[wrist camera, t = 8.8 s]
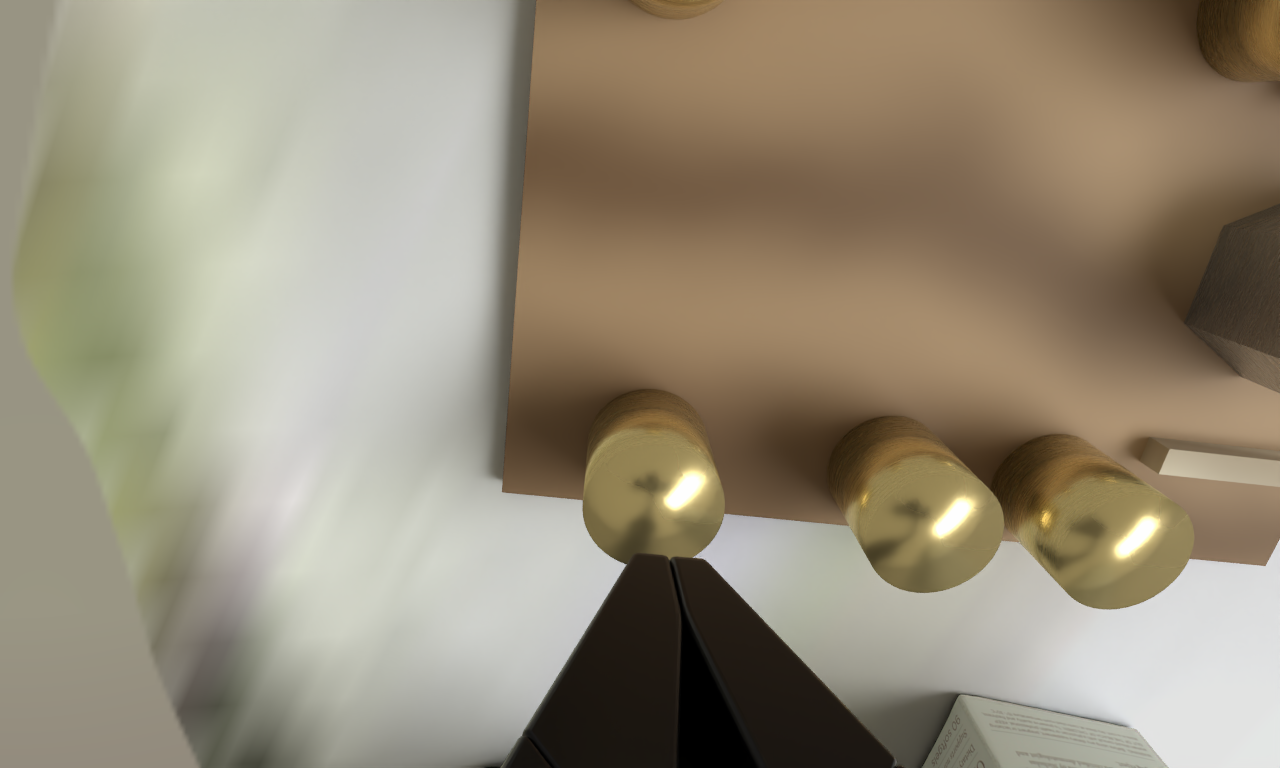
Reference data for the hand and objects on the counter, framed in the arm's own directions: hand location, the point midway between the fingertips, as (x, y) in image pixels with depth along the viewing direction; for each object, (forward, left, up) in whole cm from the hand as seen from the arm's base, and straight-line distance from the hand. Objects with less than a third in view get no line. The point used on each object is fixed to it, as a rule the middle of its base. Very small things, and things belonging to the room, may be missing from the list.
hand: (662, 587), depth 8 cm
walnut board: (+3, -9, -12) cm, 15 cm away
